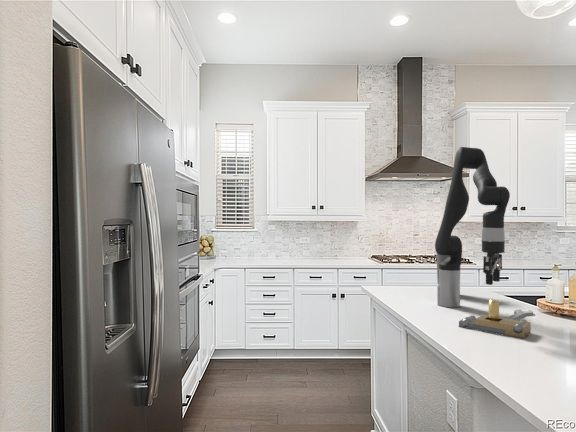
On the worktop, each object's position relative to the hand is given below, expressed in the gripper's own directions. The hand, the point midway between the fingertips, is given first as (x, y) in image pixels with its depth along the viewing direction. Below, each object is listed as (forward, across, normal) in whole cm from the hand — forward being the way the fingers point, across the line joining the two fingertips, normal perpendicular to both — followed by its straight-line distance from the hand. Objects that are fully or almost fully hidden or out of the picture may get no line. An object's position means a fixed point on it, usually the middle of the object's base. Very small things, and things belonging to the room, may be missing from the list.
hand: (492, 282), depth 142 cm
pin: (+18, 0, 0) cm, 18 cm away
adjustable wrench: (+18, -26, +1) cm, 32 cm away
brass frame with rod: (+18, 0, 0) cm, 18 cm away
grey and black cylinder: (+18, -53, -37) cm, 67 cm away
